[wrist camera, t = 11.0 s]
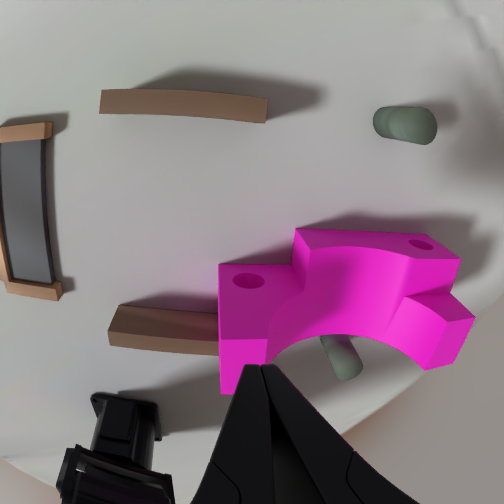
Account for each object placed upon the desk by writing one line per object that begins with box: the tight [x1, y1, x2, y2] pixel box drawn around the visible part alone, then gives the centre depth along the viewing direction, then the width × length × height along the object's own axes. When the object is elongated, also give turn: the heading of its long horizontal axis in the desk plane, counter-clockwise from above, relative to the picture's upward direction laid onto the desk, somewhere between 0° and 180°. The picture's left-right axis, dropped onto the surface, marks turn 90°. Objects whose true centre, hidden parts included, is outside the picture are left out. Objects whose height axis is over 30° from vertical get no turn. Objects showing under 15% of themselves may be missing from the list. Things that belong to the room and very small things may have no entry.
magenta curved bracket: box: [218, 228, 476, 394], centre depth 17 cm, size 15×6×8 cm, turn 86°
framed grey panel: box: [0, 89, 437, 380], centre depth 16 cm, size 18×27×4 cm, turn 82°
